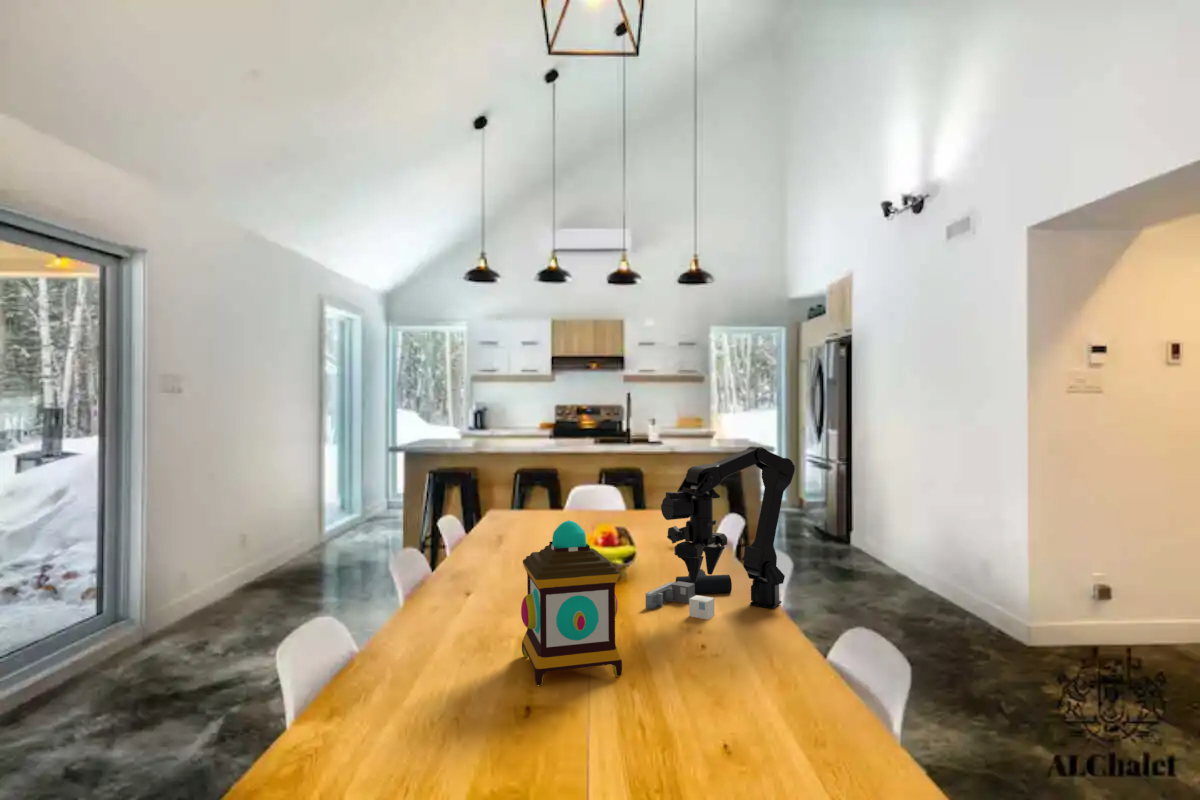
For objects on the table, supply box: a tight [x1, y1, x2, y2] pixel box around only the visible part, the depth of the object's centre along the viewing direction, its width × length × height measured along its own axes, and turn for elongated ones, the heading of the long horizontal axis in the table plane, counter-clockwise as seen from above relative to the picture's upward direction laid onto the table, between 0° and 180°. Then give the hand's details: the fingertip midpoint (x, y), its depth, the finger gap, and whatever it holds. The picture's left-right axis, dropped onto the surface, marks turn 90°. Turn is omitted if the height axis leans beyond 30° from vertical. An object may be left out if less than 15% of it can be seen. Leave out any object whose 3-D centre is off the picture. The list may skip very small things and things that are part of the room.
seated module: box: [672, 581, 696, 604], centre depth 189 cm, size 5×4×4 cm
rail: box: [645, 581, 676, 611], centre depth 186 cm, size 3×14×4 cm, turn 146°
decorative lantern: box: [520, 520, 623, 687], centre depth 142 cm, size 20×20×30 cm
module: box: [688, 594, 715, 620], centre depth 175 cm, size 5×4×4 cm
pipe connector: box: [675, 568, 733, 595], centre depth 199 cm, size 12×5×15 cm
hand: (702, 578), depth 175 cm, fingers open, 9 cm apart
